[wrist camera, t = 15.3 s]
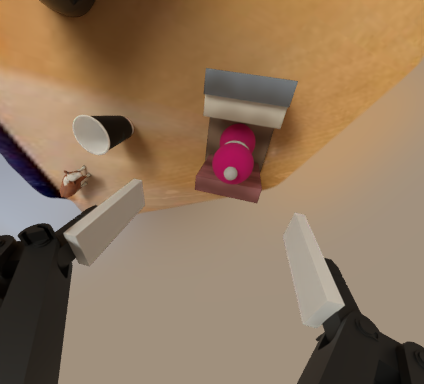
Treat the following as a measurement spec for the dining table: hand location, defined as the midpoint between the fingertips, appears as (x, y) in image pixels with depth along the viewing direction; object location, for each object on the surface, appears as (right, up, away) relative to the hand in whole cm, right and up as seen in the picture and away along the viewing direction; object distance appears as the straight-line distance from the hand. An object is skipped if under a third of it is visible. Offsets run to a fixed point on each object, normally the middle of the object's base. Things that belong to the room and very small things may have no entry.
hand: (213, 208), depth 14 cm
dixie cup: (-22, +18, +28) cm, 41 cm away
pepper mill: (+6, +14, +23) cm, 28 cm away
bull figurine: (-41, +7, +40) cm, 58 cm away
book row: (+6, +15, +23) cm, 29 cm away
